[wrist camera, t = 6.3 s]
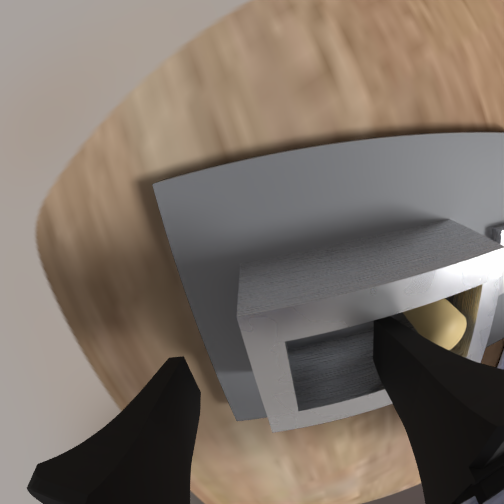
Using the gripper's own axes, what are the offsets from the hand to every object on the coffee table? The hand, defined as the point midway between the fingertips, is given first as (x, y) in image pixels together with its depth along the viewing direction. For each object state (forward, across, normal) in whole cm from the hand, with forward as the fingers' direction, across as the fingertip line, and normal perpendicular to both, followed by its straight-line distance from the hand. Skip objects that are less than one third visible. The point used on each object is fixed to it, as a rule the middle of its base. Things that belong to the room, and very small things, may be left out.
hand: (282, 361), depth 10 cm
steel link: (+3, -4, 0) cm, 5 cm away
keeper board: (+4, -6, 0) cm, 8 cm away
